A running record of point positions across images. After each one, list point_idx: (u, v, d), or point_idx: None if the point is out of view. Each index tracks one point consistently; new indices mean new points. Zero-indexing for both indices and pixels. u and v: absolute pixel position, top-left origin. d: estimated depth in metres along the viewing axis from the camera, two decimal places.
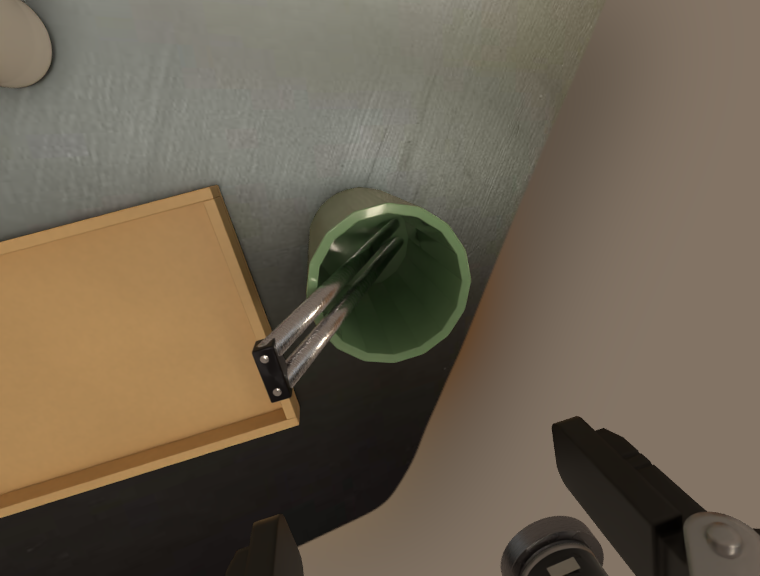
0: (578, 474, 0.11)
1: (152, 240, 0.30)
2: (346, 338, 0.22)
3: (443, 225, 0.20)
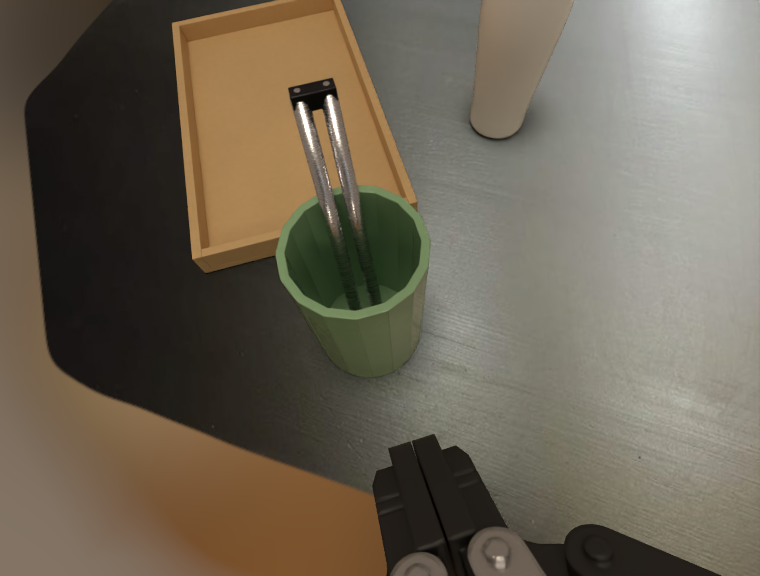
0: (427, 489, 0.12)
1: (373, 175, 0.40)
2: (304, 220, 0.24)
3: (412, 288, 0.21)
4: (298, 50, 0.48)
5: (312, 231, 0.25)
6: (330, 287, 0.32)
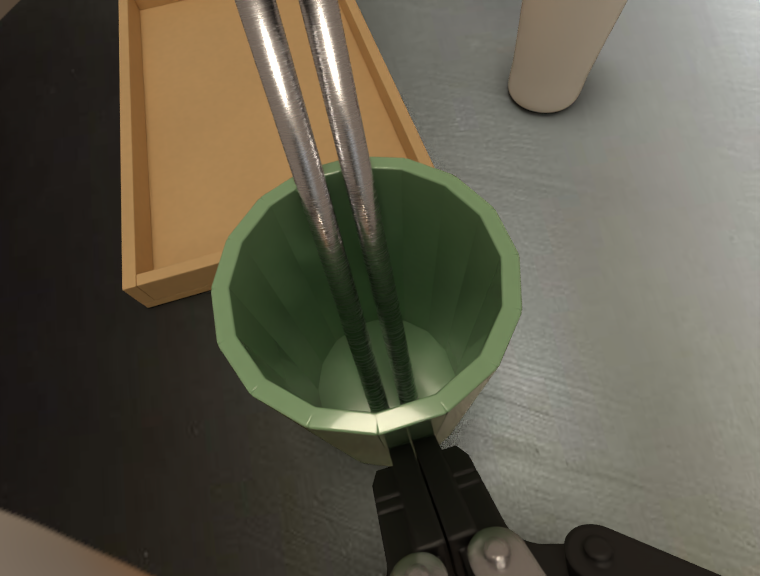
0: (427, 489, 0.12)
1: None
2: (271, 224, 0.13)
3: (493, 357, 0.10)
4: None
5: (289, 244, 0.14)
6: (325, 328, 0.21)
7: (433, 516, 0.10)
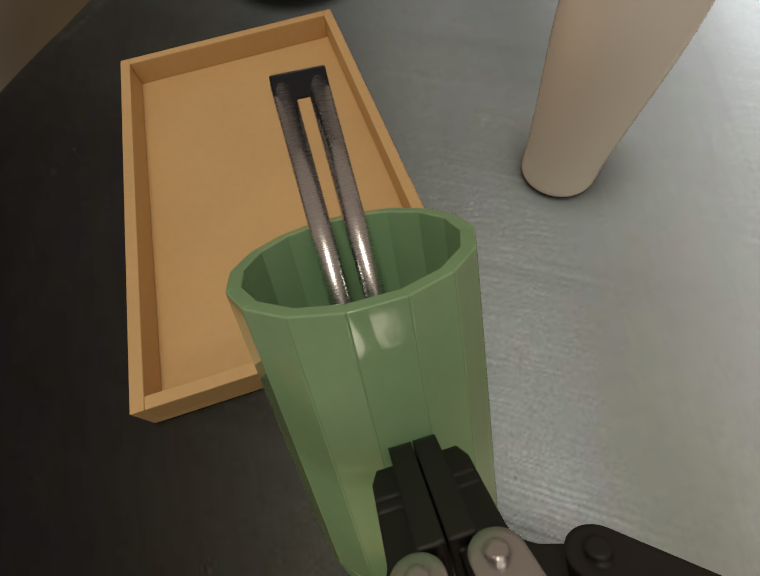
0: (427, 489, 0.12)
1: None
2: (287, 253, 0.16)
3: (451, 267, 0.11)
4: None
5: (301, 283, 0.17)
6: None
7: (433, 516, 0.10)
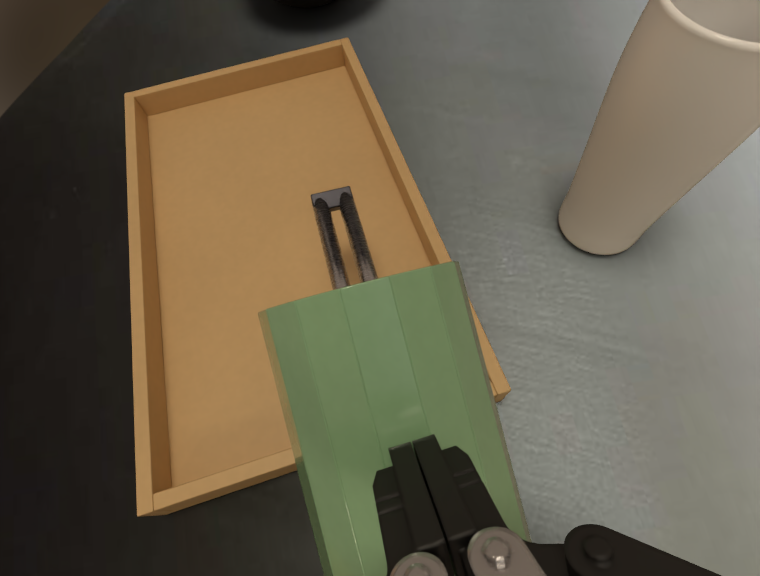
0: (427, 489, 0.12)
1: None
2: None
3: (428, 266, 0.14)
4: (300, 124, 0.35)
5: None
6: None
7: (433, 516, 0.10)
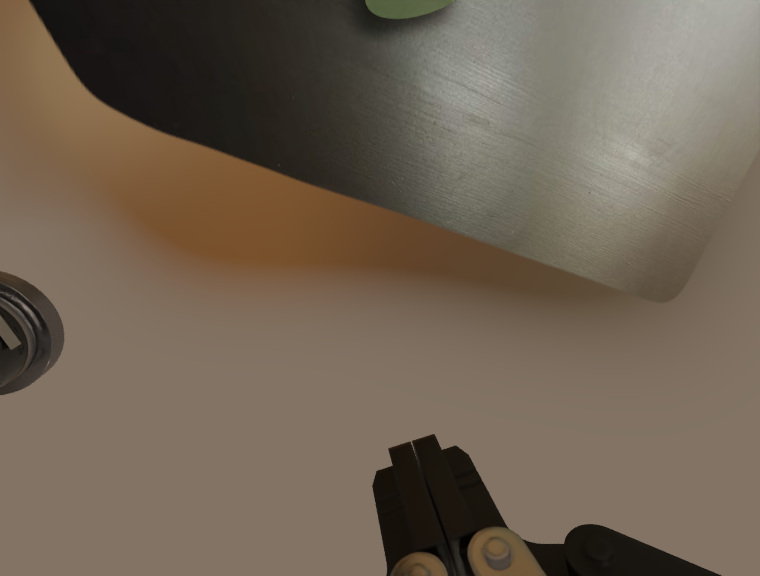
0: (427, 489, 0.12)
1: None
2: None
3: None
4: None
5: None
6: None
7: (433, 516, 0.10)
